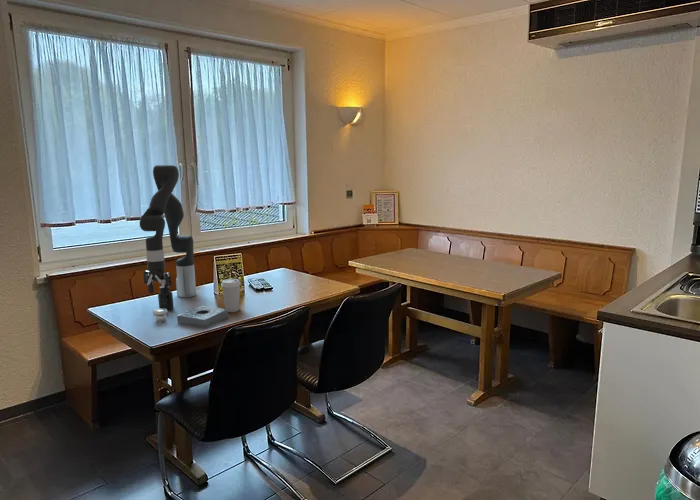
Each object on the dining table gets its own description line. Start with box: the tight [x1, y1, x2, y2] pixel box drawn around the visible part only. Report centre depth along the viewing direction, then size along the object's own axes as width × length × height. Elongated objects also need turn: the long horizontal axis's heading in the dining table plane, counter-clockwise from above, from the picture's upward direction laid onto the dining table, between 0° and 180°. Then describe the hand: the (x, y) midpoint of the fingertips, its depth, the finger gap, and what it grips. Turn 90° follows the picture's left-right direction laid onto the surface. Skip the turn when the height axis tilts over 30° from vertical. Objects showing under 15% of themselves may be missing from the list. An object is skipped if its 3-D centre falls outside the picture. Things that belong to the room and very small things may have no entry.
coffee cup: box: [220, 278, 242, 313], centre depth 244 cm, size 10×10×15 cm
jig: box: [176, 305, 229, 329], centre depth 230 cm, size 16×16×4 cm
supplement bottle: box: [157, 285, 175, 312], centre depth 246 cm, size 7×7×12 cm
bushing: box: [152, 308, 168, 323], centre depth 230 cm, size 6×6×5 cm
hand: (158, 293), depth 228 cm, fingers open, 8 cm apart
